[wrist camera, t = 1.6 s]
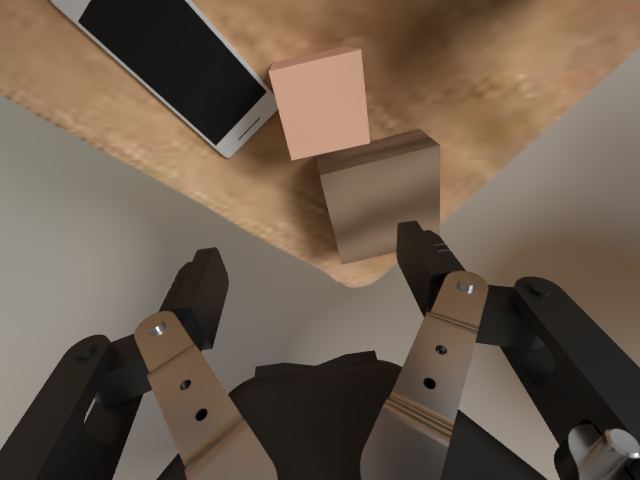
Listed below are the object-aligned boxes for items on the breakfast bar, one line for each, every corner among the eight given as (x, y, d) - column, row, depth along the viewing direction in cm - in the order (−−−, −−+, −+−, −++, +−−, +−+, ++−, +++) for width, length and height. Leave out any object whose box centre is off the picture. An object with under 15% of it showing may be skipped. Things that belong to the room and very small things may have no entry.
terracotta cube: (272, 62, 24) (268, 71, 19) (346, 45, 24) (361, 49, 19) (291, 137, 27) (291, 160, 22) (355, 122, 27) (370, 143, 22)
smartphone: (104, -99, 18) (96, -105, 18) (282, 102, 26) (282, 104, 25) (52, -3, 21) (43, -4, 20) (229, 156, 28) (227, 160, 27)
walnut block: (315, 154, 29) (319, 175, 25) (418, 128, 28) (440, 144, 24) (335, 236, 34) (341, 264, 30) (421, 216, 34) (439, 241, 30)
